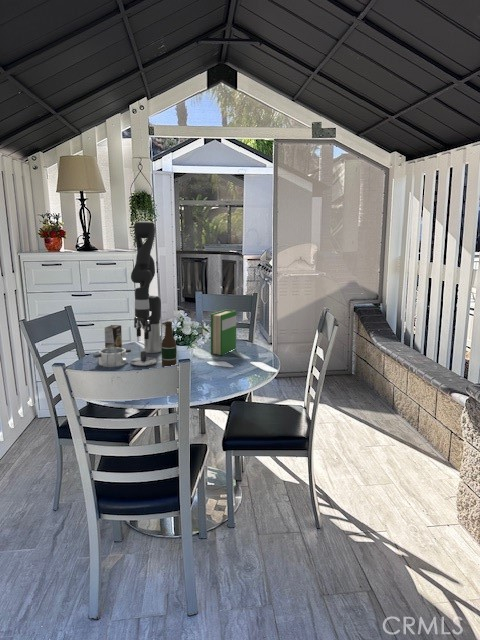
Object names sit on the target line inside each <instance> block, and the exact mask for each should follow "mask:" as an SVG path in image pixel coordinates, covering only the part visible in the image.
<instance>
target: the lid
mask: <svg viewBox="0 0 480 640" xmlns="http://www.w3.org/2000/svg"><path fill="white" fill-rule="evenodd" d="M156 363H157V358H154V357H149V356H147V353H146V351H145V350H143V351H140V357H136V358H132V359H130V364H131V365H132V366H136V367H148V366H151V365H154V364H156Z"/></svg>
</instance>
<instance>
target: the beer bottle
mask: <svg viewBox="0 0 480 640" xmlns="http://www.w3.org/2000/svg"><path fill="white" fill-rule="evenodd" d="M164 325H165V330H164V338H163V339H162V346H161V348H162V351H161V366H162V368H164V367H163V366H171V365H175V364H178V363H177V359H178V357H177V354H178V353H177V341H176V338H175V337H174V335H173V326H172V325H173V322H172V321H171V320H169V321H165V323H164Z"/></svg>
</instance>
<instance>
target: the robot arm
mask: <svg viewBox="0 0 480 640" xmlns="http://www.w3.org/2000/svg"><path fill="white" fill-rule="evenodd" d="M133 227H134V228H133V229H134V230H133V231H134V237H135V239H134V240H135V245H136V251H137V253H136V259H135V265H134V266H133V269H132V270H131V273H130V279H131V281H132V283H134V284H139V287H137V288H135V290H134V317H133V318H134V320H133V321H134V322H133V328H135V330H136V337H142V330H143V336H144V337H143V340H144V341H143V344H144V345H143V346H144V348H143V350H144V351H146V354H157V353H160V352H162V348H161V346H162V341H163V339H162V337H163V336H162V335H161V315H162V314H161V312H162V311H161V310H162V301H161V298H160V296H159V295H150V294H149V293H150V285H151V283H152V281H153V279H154V277H155V274H156V265H155V259H154V258H153V257H152V255H151V252H152V247H153V245H154V241H155V236H156V225H155V223H154V222H153V221H149V220H146V221H144V220H143V221H135V223H134V225H133ZM143 239H146V240H145V242H143Z"/></svg>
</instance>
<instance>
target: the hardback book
mask: <svg viewBox="0 0 480 640" xmlns="http://www.w3.org/2000/svg"><path fill="white" fill-rule="evenodd" d="M235 348H236V349H237V310H232V309H222V310H220V311H216V312H213V313H210V355H211V354H213V355H219V356H221V355H224V354H225V353H227V352H229V351H231V350H233V349H235ZM224 356H225V355H224Z"/></svg>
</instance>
